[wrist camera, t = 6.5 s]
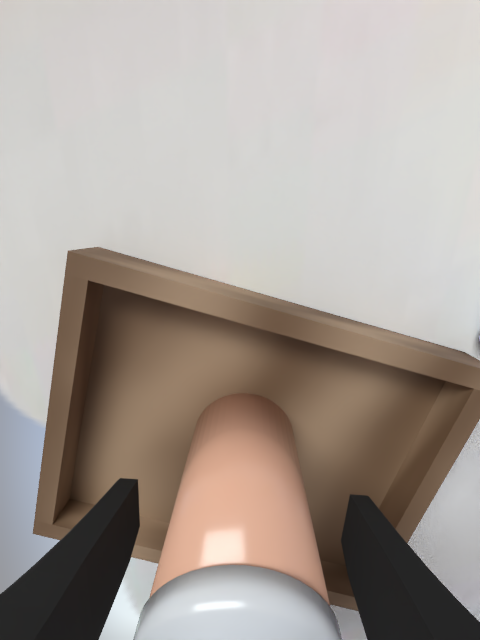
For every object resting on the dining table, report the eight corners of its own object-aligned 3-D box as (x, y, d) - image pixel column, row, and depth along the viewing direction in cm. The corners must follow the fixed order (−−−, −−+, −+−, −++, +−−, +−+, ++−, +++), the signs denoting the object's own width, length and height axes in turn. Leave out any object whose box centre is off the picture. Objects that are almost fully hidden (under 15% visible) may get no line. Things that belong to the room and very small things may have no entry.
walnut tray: (465, 352, 13) (504, 375, 11) (351, 565, 17) (366, 612, 15) (98, 247, 13) (67, 250, 11) (60, 494, 16) (32, 533, 14)
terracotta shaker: (294, 389, 13) (356, 609, 6) (295, 477, 15) (346, 754, 7) (187, 393, 14) (106, 610, 6) (197, 480, 15) (141, 751, 7)
